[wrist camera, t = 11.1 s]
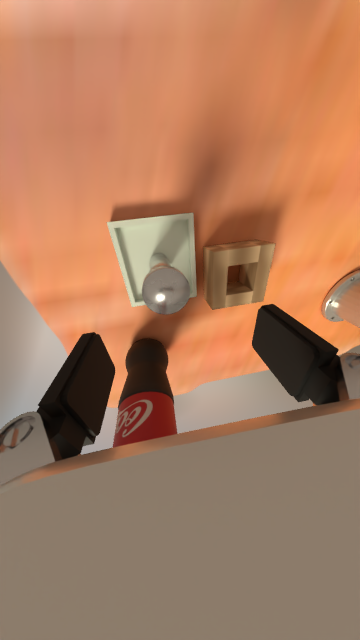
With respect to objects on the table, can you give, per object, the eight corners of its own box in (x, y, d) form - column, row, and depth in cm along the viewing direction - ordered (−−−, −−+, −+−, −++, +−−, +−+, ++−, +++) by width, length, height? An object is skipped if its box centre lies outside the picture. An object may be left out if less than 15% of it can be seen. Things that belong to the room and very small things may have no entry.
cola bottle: (122, 338, 32) (34, 738, 7) (163, 331, 33) (207, 674, 8) (133, 366, 37) (101, 669, 12) (169, 359, 38) (208, 632, 13)
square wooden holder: (255, 239, 26) (275, 243, 22) (247, 290, 31) (263, 301, 27) (203, 246, 26) (213, 252, 21) (203, 297, 30) (212, 309, 26)
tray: (190, 212, 23) (193, 212, 21) (194, 292, 30) (196, 296, 28) (109, 222, 22) (106, 222, 20) (132, 302, 29) (132, 306, 27)
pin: (171, 246, 24) (188, 265, 14) (175, 275, 27) (191, 310, 17) (141, 250, 24) (136, 272, 14) (148, 279, 26) (147, 317, 16)
